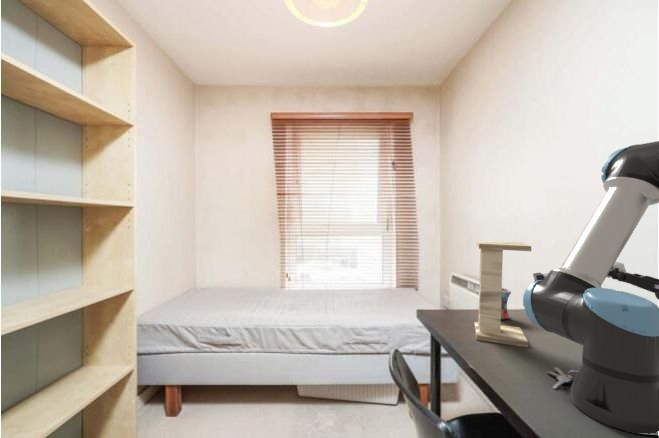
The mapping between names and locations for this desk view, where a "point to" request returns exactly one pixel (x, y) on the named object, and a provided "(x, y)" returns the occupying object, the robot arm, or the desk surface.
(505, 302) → the multicoloured narrow piece
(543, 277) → the metal block
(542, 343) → the desk surface
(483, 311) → the birch stand
